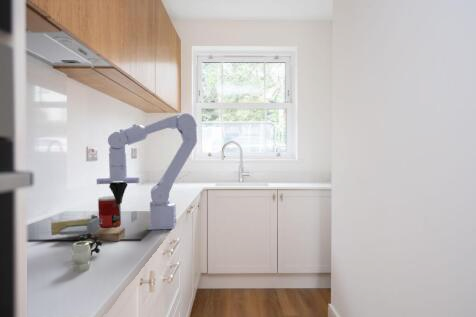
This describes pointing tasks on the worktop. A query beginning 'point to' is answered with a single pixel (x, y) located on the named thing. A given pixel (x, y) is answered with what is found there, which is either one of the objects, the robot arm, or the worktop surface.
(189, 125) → the robot arm
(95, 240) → the valve
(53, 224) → the bar
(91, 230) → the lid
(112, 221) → the canned food
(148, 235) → the worktop surface
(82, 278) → the worktop surface
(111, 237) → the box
